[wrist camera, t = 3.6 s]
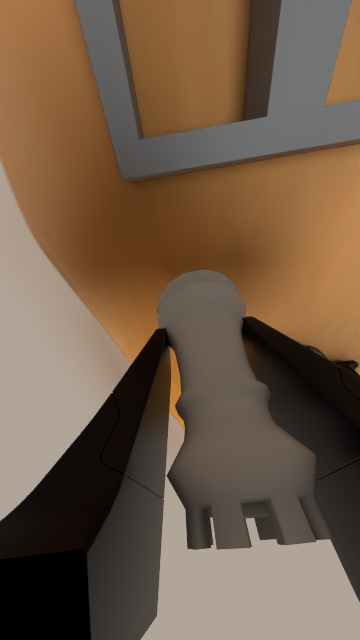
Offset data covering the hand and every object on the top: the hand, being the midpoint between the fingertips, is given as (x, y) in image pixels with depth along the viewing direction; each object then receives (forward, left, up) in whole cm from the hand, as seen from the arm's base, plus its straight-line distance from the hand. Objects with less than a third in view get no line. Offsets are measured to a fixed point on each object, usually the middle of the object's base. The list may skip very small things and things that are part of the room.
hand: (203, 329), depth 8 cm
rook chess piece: (0, 0, -2) cm, 2 cm away
